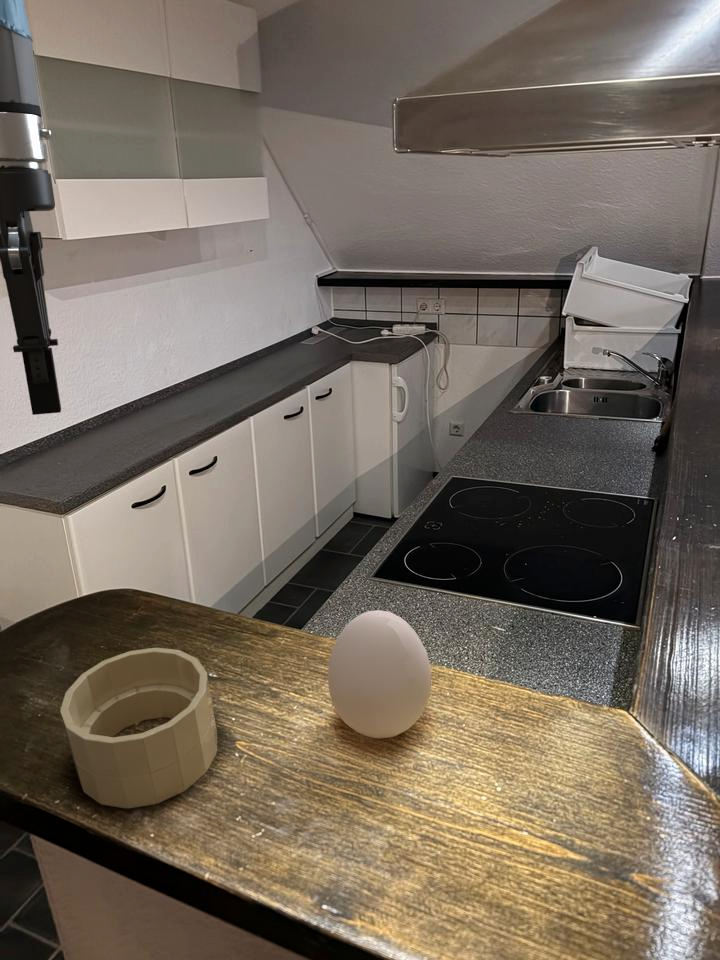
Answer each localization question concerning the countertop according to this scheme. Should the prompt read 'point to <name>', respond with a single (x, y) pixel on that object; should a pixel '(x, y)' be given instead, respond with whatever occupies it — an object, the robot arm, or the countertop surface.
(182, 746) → the ring
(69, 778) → the countertop surface
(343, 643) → the egg
